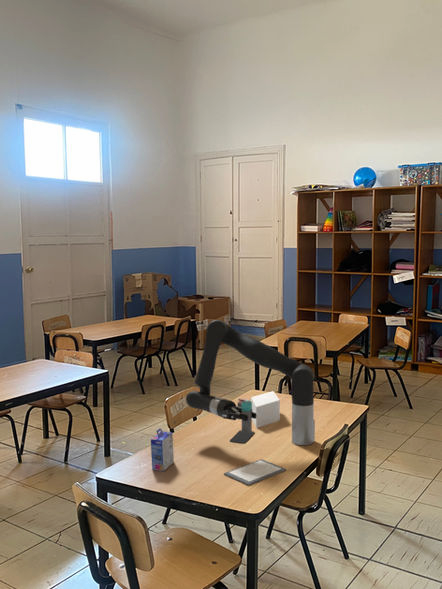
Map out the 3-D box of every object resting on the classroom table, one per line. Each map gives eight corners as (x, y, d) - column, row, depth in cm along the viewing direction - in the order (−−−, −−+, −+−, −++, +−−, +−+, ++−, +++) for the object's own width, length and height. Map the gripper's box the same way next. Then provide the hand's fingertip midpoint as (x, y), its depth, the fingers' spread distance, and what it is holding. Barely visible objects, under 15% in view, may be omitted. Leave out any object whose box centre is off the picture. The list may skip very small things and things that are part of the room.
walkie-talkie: (265, 410, 298) (240, 401, 313) (265, 401, 297) (240, 393, 313) (252, 413, 292) (227, 404, 308) (252, 404, 292) (227, 396, 307)
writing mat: (261, 460, 230) (261, 458, 230) (285, 470, 221) (285, 468, 220) (224, 474, 217) (224, 472, 217) (248, 485, 207) (248, 483, 207)
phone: (228, 441, 251) (240, 429, 265) (228, 442, 251) (240, 431, 265) (244, 443, 249) (255, 431, 263) (244, 445, 249) (255, 433, 263)
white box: (287, 412, 293) (287, 392, 292) (271, 430, 266) (271, 408, 265) (259, 409, 298) (259, 389, 297) (241, 426, 272) (241, 405, 270)
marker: (246, 429, 234) (246, 400, 233) (254, 431, 231) (254, 402, 230) (239, 431, 231) (239, 402, 230) (246, 434, 228) (246, 404, 227)
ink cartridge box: (161, 460, 231) (161, 425, 230) (174, 462, 230) (173, 426, 228) (150, 469, 222) (150, 433, 221) (163, 471, 220) (163, 434, 219)
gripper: (209, 402, 236) (238, 411, 223) (235, 395, 245) (264, 404, 232) (209, 420, 237) (238, 430, 224) (235, 412, 246) (264, 422, 233)
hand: (251, 417), depth 228 cm, fingers closed on marker, 4 cm apart
